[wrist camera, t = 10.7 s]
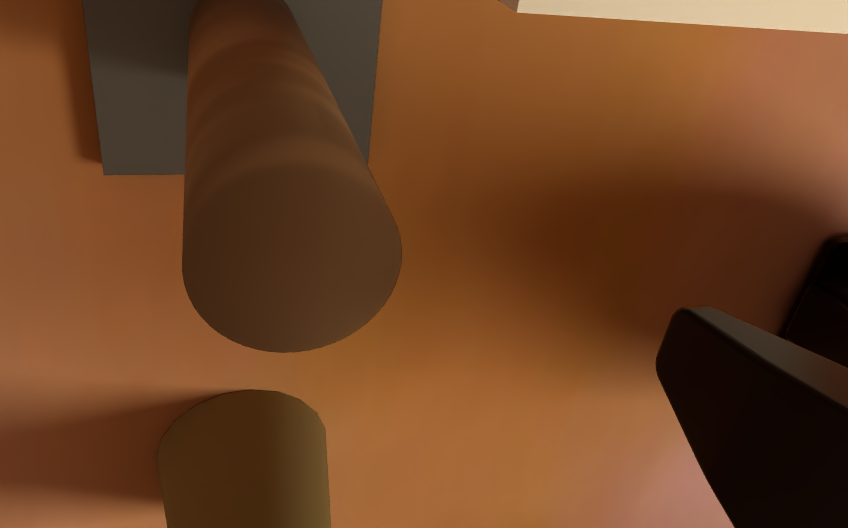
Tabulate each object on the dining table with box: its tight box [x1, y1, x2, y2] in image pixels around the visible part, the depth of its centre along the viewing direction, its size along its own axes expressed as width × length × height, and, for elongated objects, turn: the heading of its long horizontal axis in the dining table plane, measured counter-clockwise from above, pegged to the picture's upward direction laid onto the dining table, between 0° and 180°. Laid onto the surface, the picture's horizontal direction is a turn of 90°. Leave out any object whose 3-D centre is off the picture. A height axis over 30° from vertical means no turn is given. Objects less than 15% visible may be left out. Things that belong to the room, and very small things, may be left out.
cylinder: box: [182, 0, 402, 353], centre depth 13 cm, size 3×3×11 cm
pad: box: [82, 0, 382, 175], centre depth 18 cm, size 7×7×1 cm
